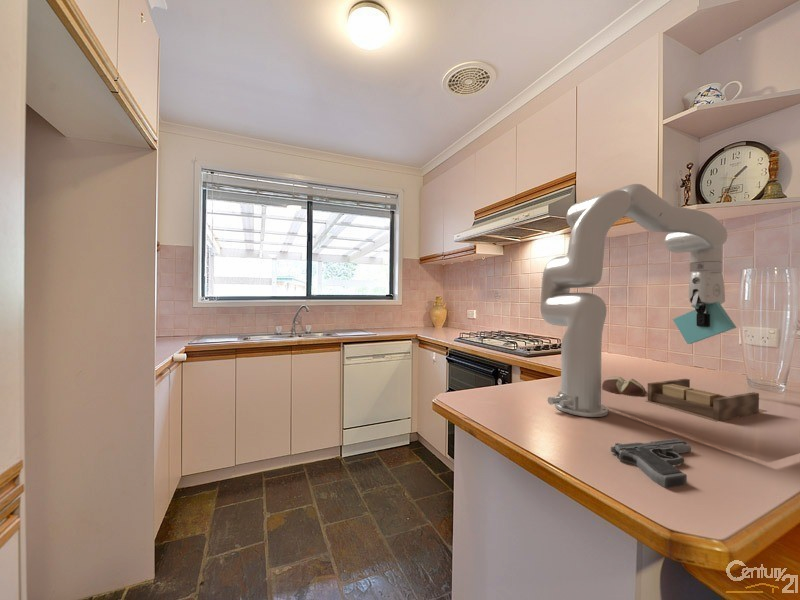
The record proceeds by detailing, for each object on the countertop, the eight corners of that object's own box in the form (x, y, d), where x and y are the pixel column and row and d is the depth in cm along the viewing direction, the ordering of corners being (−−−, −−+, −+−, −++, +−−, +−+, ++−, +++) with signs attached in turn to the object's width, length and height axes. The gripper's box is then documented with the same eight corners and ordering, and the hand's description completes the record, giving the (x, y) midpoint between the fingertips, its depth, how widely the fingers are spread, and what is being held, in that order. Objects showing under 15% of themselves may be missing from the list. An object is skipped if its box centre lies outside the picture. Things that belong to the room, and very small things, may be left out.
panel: (687, 343, 106) (732, 327, 95) (672, 319, 110) (714, 301, 99) (691, 343, 107) (736, 327, 96) (676, 319, 111) (718, 301, 100)
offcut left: (683, 408, 85) (683, 389, 85) (662, 402, 90) (662, 385, 90) (692, 407, 87) (693, 388, 87) (671, 401, 92) (672, 383, 91)
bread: (608, 387, 110) (608, 372, 110) (649, 395, 101) (649, 379, 101) (595, 393, 103) (595, 377, 103) (638, 402, 95) (638, 385, 94)
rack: (715, 425, 77) (716, 400, 77) (645, 404, 92) (645, 383, 92) (767, 414, 84) (767, 391, 84) (694, 397, 99) (694, 377, 99)
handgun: (745, 464, 55) (671, 434, 67) (664, 476, 51) (601, 441, 63) (744, 479, 55) (671, 446, 67) (663, 491, 51) (601, 454, 63)
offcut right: (709, 416, 80) (709, 395, 80) (686, 409, 85) (686, 390, 85) (719, 414, 82) (719, 394, 82) (695, 407, 86) (695, 389, 86)
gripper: (704, 266, 96) (704, 328, 96) (735, 268, 101) (735, 326, 101) (675, 268, 103) (675, 326, 103) (706, 269, 108) (706, 324, 109)
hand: (705, 326), depth 102 cm, fingers closed on panel, 1 cm apart
